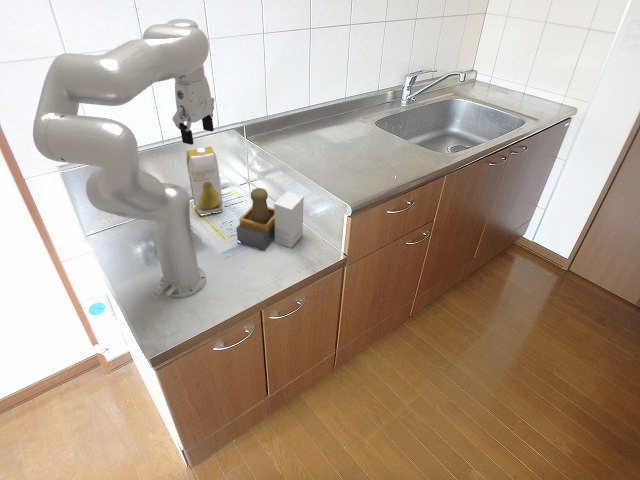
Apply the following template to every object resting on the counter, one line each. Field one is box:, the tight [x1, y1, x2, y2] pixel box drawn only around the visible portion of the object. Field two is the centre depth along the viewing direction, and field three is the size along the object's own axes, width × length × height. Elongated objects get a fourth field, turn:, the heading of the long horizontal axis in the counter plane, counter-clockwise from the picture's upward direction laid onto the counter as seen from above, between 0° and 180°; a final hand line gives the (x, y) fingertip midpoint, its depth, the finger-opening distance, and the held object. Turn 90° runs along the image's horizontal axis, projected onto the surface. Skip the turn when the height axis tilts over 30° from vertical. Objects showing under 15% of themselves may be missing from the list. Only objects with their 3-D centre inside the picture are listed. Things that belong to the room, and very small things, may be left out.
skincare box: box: [273, 191, 305, 249], centre depth 130 cm, size 8×7×16 cm
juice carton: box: [186, 145, 223, 214], centre depth 139 cm, size 9×8×24 cm
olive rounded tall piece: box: [250, 187, 270, 224], centre depth 129 cm, size 6×6×11 cm
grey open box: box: [236, 206, 275, 252], centre depth 134 cm, size 14×10×8 cm
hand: (198, 136), depth 116 cm, fingers open, 9 cm apart
